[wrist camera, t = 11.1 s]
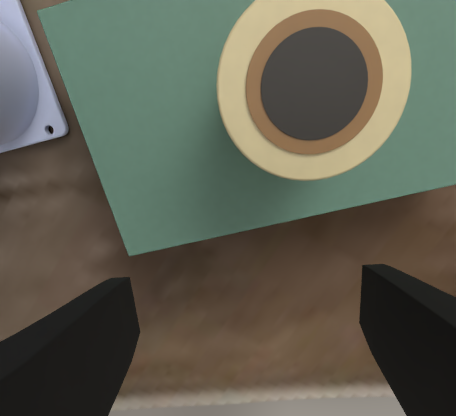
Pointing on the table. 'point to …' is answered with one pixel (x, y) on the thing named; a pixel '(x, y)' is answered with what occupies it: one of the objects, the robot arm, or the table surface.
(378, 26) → the tape roll
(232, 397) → the table surface
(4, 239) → the table surface
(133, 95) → the desk shelf
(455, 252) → the table surface
